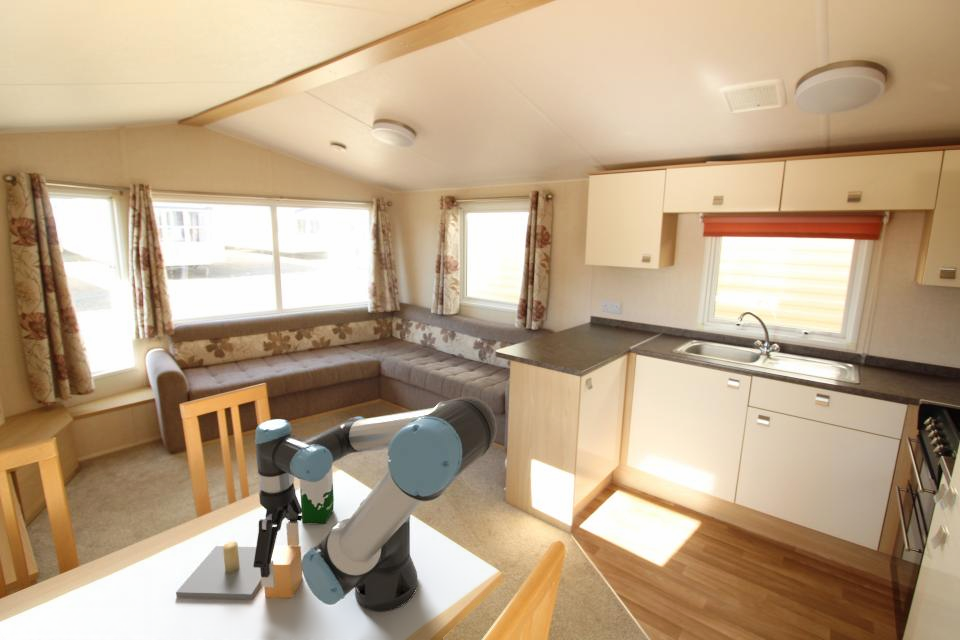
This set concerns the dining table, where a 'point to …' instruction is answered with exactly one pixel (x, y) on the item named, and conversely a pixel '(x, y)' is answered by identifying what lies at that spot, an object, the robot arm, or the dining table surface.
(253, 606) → the dining table surface
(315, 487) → the milk carton
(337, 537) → the robot arm
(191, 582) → the board
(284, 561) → the wooden toy block
